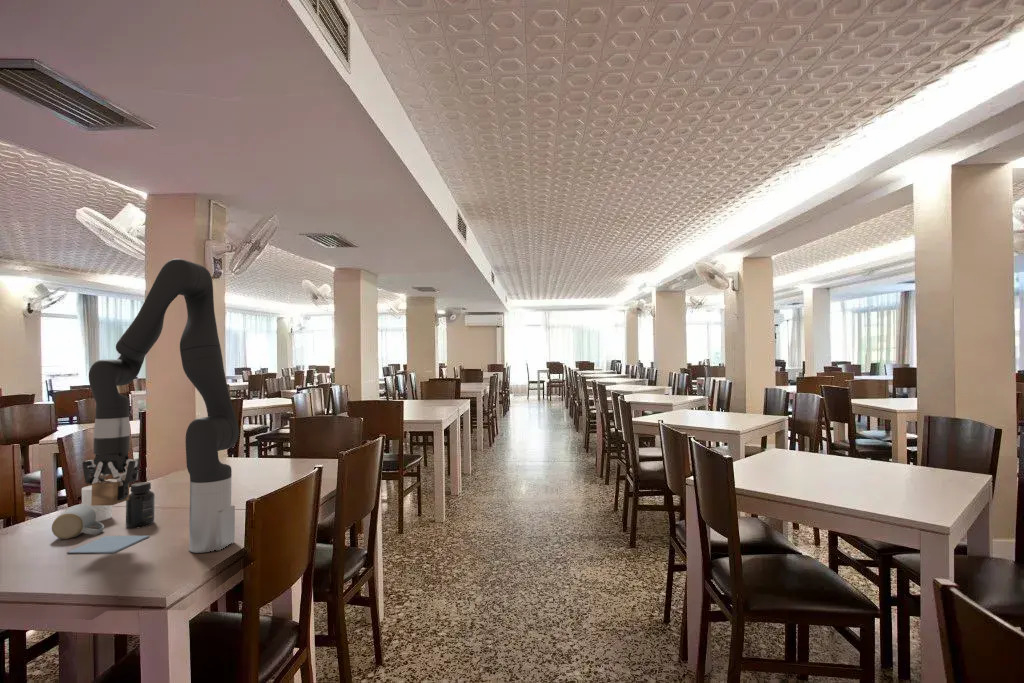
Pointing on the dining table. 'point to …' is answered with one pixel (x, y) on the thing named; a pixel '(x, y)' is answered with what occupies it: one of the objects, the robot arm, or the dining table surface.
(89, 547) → the slate mat
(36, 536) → the dining table surface
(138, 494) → the supplement bottle
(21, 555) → the dining table surface
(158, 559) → the dining table surface
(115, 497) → the walnut block
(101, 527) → the ceramic mug
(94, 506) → the white cup
